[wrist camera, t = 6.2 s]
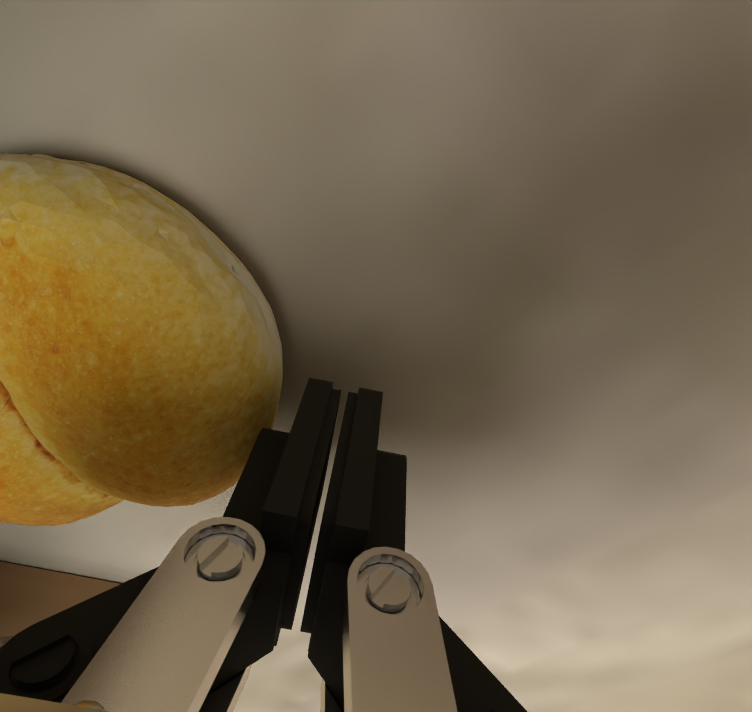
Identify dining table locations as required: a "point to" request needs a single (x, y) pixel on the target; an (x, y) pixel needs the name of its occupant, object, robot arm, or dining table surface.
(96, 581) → the brown wooden box
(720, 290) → the dining table surface
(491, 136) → the dining table surface
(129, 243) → the bread roll
